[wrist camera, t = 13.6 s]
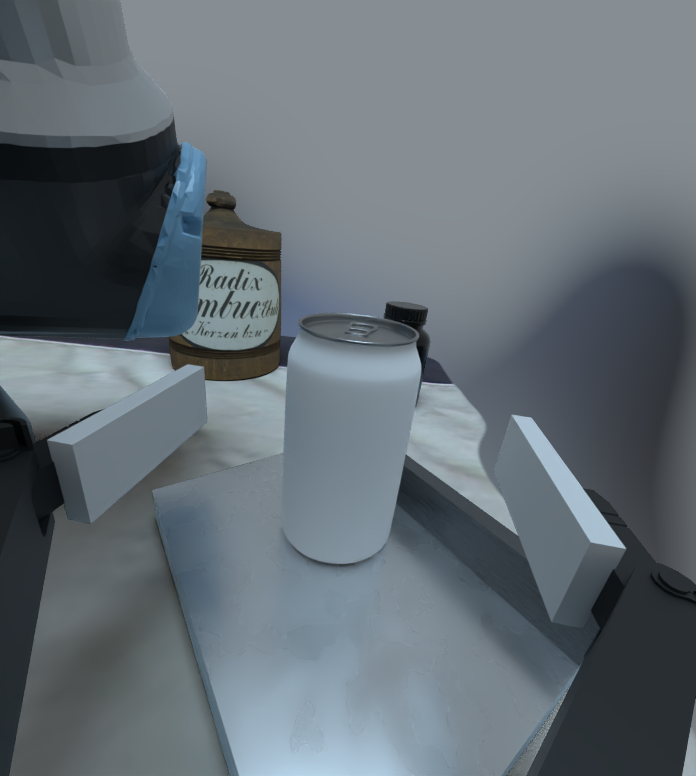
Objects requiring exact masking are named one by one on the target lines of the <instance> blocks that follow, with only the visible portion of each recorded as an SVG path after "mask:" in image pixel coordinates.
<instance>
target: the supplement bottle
mask: <svg viewBox="0 0 696 776" xmlns="http://www.w3.org/2000/svg"><path fill="white" fill-rule="evenodd" d="M427 312H428V308H426V307H424V306H421V305H417V304H412V303H406V302H394V301H393V302H387V304H386V310H385V313H384V319H388V320H392V321H396V322H399V323H402V324H405V325H407V326H410V327H412V328H413V329H415V330H416V331H417V332H418V333H419V338H418V340H417V341H416V348H417V351H418V355H419V358H420V362H421V377H420V383H419V388H418V394H417V399H416V404H417V401H418V397H419V393H420V389H421V384H422V379H423V375H424V370H425V365H426V361H427V356H428V351H429V347H430V337H429V335H428V333H427V332H426V331H425V330H423V325H425V324H426V317H427ZM416 404H415V405H416Z"/></svg>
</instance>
